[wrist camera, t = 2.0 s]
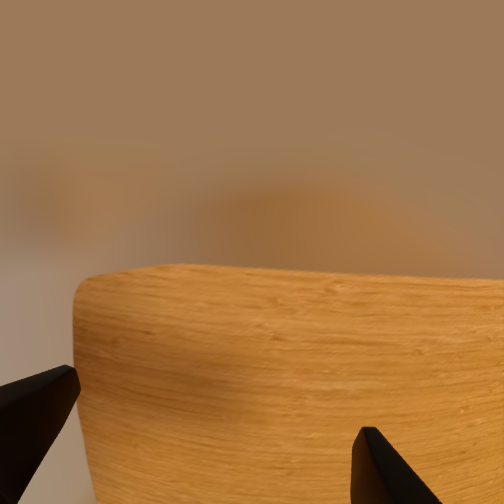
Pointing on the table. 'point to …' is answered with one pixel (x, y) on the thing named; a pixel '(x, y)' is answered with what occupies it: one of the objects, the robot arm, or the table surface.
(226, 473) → the table surface
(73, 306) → the table surface
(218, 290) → the table surface
